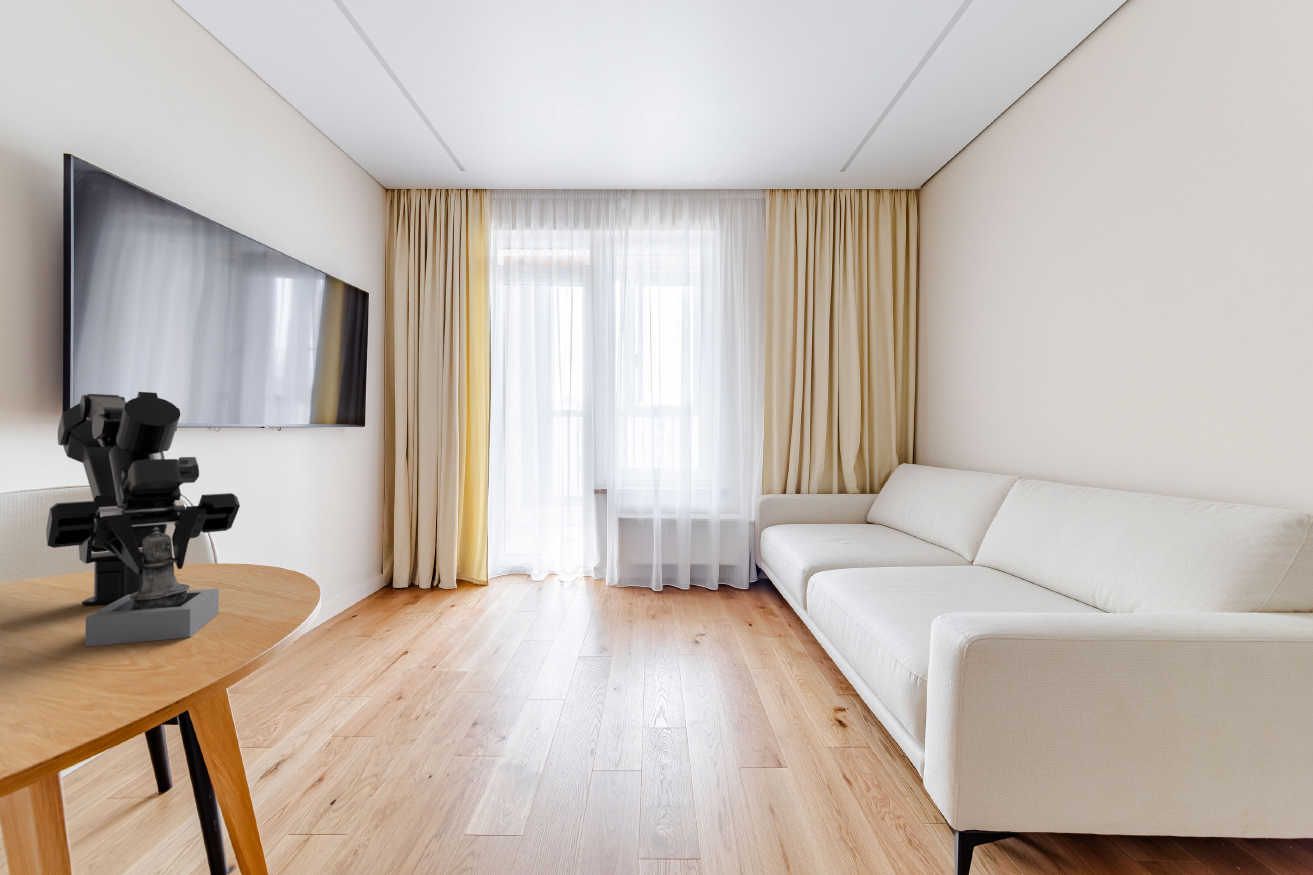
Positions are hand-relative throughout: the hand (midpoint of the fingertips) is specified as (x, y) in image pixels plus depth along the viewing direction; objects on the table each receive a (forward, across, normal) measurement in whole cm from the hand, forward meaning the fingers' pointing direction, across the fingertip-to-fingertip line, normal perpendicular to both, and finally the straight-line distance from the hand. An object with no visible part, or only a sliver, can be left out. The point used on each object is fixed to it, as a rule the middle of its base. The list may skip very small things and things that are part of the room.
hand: (161, 569), depth 73 cm
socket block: (+5, 0, +6) cm, 8 cm away
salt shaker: (+4, 0, +6) cm, 7 cm away
